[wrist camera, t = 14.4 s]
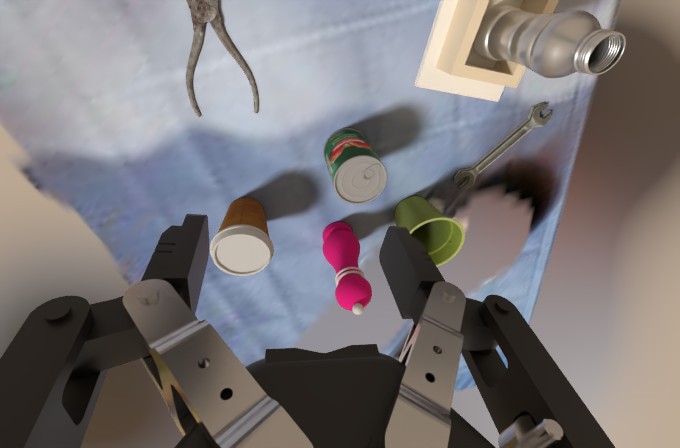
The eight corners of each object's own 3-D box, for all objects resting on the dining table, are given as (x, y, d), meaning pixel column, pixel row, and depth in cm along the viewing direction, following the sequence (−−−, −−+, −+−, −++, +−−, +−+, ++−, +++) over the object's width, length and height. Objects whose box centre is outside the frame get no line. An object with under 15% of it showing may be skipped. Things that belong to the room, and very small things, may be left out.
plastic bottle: (462, 19, 43) (572, 36, 28) (509, -6, 43) (649, -3, 27) (469, 65, 47) (568, 103, 32) (512, 43, 46) (636, 71, 31)
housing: (462, -69, 38) (488, -77, 34) (557, -37, 42) (593, -40, 38) (414, 85, 49) (429, 95, 44) (494, 99, 52) (516, 110, 48)
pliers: (202, 128, 46) (115, -45, 34) (203, 126, 47) (118, -44, 35) (265, 111, 47) (201, -67, 34) (265, 109, 47) (202, -66, 35)
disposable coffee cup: (260, 238, 61) (259, 283, 52) (211, 222, 57) (199, 268, 48) (281, 201, 57) (284, 243, 47) (230, 181, 53) (221, 222, 43)
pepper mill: (328, 215, 61) (348, 294, 45) (360, 224, 63) (390, 301, 48) (314, 242, 64) (328, 325, 48) (345, 250, 67) (368, 330, 51)
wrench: (550, 115, 56) (555, 117, 56) (461, 190, 63) (463, 193, 62) (540, 97, 54) (545, 99, 53) (448, 177, 61) (451, 180, 60)
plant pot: (443, 182, 61) (472, 214, 52) (432, 229, 68) (456, 265, 59) (385, 187, 59) (405, 222, 50) (379, 235, 66) (396, 273, 57)
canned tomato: (343, 179, 56) (356, 213, 48) (313, 150, 52) (322, 182, 43) (377, 150, 54) (397, 180, 46) (349, 117, 50) (365, 144, 41)
